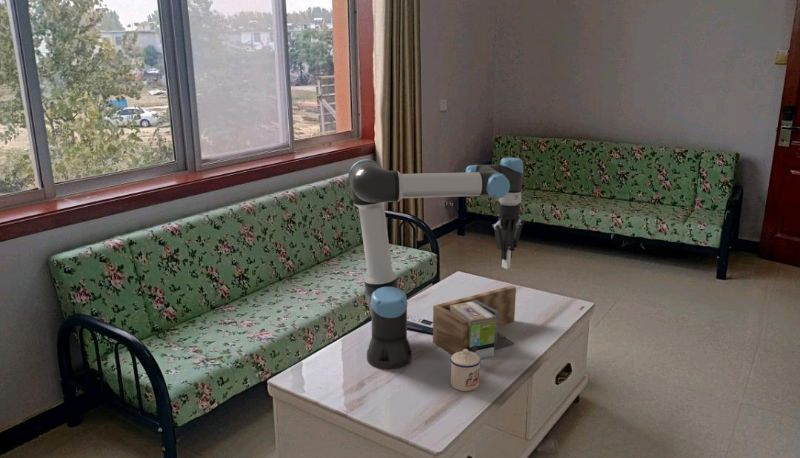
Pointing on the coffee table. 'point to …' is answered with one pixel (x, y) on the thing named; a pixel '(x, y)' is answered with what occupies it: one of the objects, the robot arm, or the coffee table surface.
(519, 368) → the coffee table surface
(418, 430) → the coffee table surface
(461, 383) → the teacup with lid
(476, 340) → the tea box
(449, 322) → the shelf
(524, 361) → the coffee table surface
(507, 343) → the bookend
